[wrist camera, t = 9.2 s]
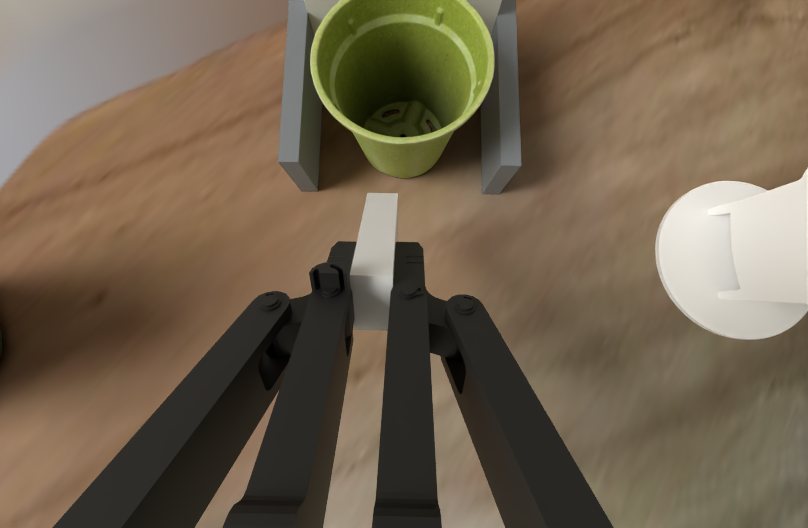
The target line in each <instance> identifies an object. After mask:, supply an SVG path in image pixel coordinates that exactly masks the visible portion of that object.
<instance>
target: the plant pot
mask: <svg viewBox="0 0 808 528" xmlns="http://www.w3.org/2000/svg"><path fill="white" fill-rule="evenodd" d="M494 65H495V56H494V47H493V42H492V39H491V35H490V33H489V31H488V28H487V27H486V25H485V23H484V21H483V19H482V18H481V16H480V15H479V13H478V12H477V11H476V10H475V9H474V8H473V7H472V6H471V5H470V4H469V3H468V2H467V1H466V0H340V1H339V2H338V3H337V4H336V5H335V6H334V7H333V8H332V9H331V10H330V11H329V12H328V13H327V15H326V16H325V18H324V19H323V21H322V23H321V24H320V26H319V27H318V29H317V31H316V33H315V37H314V40H313V43H312V48H311V56H310V67H311V75H312V78H313V82H314V86H315V88H316V91H317V93H318V95H319V97H320V99H321V101H322V102H323V104H324V106H325V107H326V108H327V110H328V111H329V112H330V113H331V115H332V116H333V117H334V118H335V119H336V120H337V121H339V122H340V123H341V124H342V125H343V126H345V127H346V128H347V129H349V130H350V131H352V133H353V134H354V136H355V138H356V139H357V141H358V143H359V145H360V147H361V148H362V150H363V152H364V154H365V156H366V157H367V159H368V161H369V162H370V163H371V164H372V165H373V166H374V167H375V168H376V169H377V170H378V171H381V172H383V173H385V174H388V175H391V176H394V177H397V178H410V177H415V176H418V175H421V174H423V173H425V172H426V171H428V170H429V169H430V168H432V167H433V166H434V164H435V163H436V162H437V161H438V159H439V158H440V156H441V154H442V152H443V150H444V149H445V147H446V145H447V143H448V141H449V139H450V138H451V136H452V134H453V132H454V131H455V130H456V129H458V128H459V127H460V126H462V125H463V124H464V123H465V122H466V121H467V120H468V119H469V118H470V117H471V116H472V115H473V114H474V113H475V112H476V111H477V109H478V108H479V107H480V105H481V103H482V102H483V100H484V98H485V97H486V94H487V92H488V90H489V88H490V85H491V82H492V78H493V74H494ZM392 109H398V110H399V112H398V113H395V114H392V115H389V116H387V117H386V118H383V117H382V115H383V114H384V113H385V112H387V111H389V110H392ZM427 120H430V121H431V123H432V125H433V126H434V127H435V129H436V131H435V132H431V129H430V127H429V125H428V124H427V122H426V121H427ZM402 134H404V135H406V137H400V135H402Z"/></svg>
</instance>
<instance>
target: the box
mask: <svg viewBox="0 0 808 528" xmlns="http://www.w3.org/2000/svg"><path fill="white" fill-rule="evenodd" d="M339 1H340V0H289V11H288V25H287V39H286V53H285V68H284V82H283V97H282V111H281V125H280V140H279V154H278V162H279V164H280V165H281V166H282V167H283V169H284V170H285V171H286V172H287V174H288V175H289V176H290V177H291V179H292V180H293V181H294V182H295V184H296V185H297V186H298V187H299V189H300V190H301V191H318V180H319V160H320V141H321V122H322V101H321V99H320V97H319V95H318V93H317V91H316V88H315V86H314V82H313V78H312V75H311V67H310V56H311V48H312V43H313V40H314V37H315V33H316V31H317V29H318V27H319V26H320V24H321V23H322V21H323V19H324V18H325V16H326V15H327V13H328V12H329V11H330V10H331V9H332V8H333V7H334V6H335V5H336V4H337V3H338V2H339ZM466 1H467V2H468V3H469V4H470V5H471V6H472V7H473V8H474V9H475V10H476V11H477V12H478V13H479V15H480V16H481V18H482V19H483V21H484V23H485V25H486V27H487V28H488V31H489V33H490V35H491V39H492V42H493V47H494V56H495V65H494V74H493V78H492V82H491V85H490V88H489V90H488V92H487V94H486V97H485V98H484V100H483V102H482V103H481V148H482V194H499V193H500V192H501V191H502V190H503V188H504V187H505V186H506V184H507V183H508V182H509V181H510V179H511V178H512V177H513V176H514V174H515V173H516V172H517V171H518V169H519V168H520V167H521V141H520V112H519V83H518V55H517V26H516V0H466Z"/></svg>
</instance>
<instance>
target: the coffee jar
mask: <svg viewBox="0 0 808 528" xmlns="http://www.w3.org/2000/svg"><path fill="white" fill-rule="evenodd" d="M1 342H2V333H1V328H0V356H1Z"/></svg>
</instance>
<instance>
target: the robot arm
mask: <svg viewBox="0 0 808 528" xmlns="http://www.w3.org/2000/svg"><path fill="white" fill-rule="evenodd" d="M397 240H398V193H367V198H366V203H365V207H364V212H363V216H362V221H361V225H360V230H359V235H358V239H357V242H343V241H338V242H337V243H336V244H335V245H334V246H333V247H332V248H331V251H330V254H329V257H328V260H327V263H322V264H319V265H317V266H315V267H314V268H312V269H311V271H310V272H309V275H310V281H311V286H312V293H311V294H309V295H306V296H303V297H299V298H294V299H289V297H288V296H287V294H285V293H283V292H278V291H272V292H267V293H264V294H262V295H260V296H258V297H257V298H256V299H254V300H253V301H252V302H251V304H250V305H249V306H248V307H247V308H246V309H245V310H244V312H243V313H242V314H241V315H240V316H239V317H238V318H237V319H236V321H235V322H234V323H233V324H232V325H231V326H230V327H229V329H228V330H227V331H226V332H225V333H224V334H223V335H222V336H221V338H220V339H219V340H218V341H217V342H216V343H215V344H214V345H213V347H212V348H211V349H210V350H209V351H208V352H207V353H206V355H205V356H204V357H203V358H202V359H201V360H200V361H199V362H198V364H197V365H196V366H195V367H194V368H193V369H192V370H191V372H190V373H189V374H188V375H187V376H186V377H185V378H184V379H183V381H182V382H181V383H180V384H179V385H178V386H177V387H176V389H175V390H174V391H173V392H172V393H171V394H170V395H169V396H168V398H167V399H166V400H165V401H164V402H163V403H162V404H161V405H160V407H159V408H158V409H157V410H156V411H155V412H154V413H153V415H152V416H151V417H150V418H149V419H148V420H147V421H146V422H145V424H144V425H143V426H142V427H141V428H140V429H139V430H138V432H137V433H136V434H135V435H134V436H133V437H132V438H131V439H130V441H129V442H128V443H127V444H126V445H125V446H124V447H123V448H122V450H121V451H120V452H119V453H118V454H117V455H116V456H115V458H114V459H113V460H112V461H111V462H110V463H109V464H108V465H107V467H106V468H105V469H104V470H103V471H102V472H101V473H100V475H99V476H98V477H97V478H96V479H95V480H94V481H93V482H92V484H91V485H90V486H89V487H88V488H87V489H86V490H85V491H84V493H83V494H82V495H81V496H80V497H79V498H78V499H77V501H76V502H75V503H74V504H73V505H72V506H71V507H70V508H69V510H68V511H67V512H66V513H65V514H64V515H63V516H62V518H61V519H60V520H59V521H58V522H57V523H56V524H55V525H54V527H53V528H195V526H196V524H197V523H198V521H199V519H200V518H201V516H202V514H203V513H204V511H205V510H206V508H207V506H208V505H209V503H210V501H211V500H212V498H213V497H214V495H215V493H216V492H217V490H218V488H219V487H220V485H221V484H222V482H223V480H224V479H225V477H226V475H227V474H228V472H229V471H230V469H231V467H232V466H233V464H234V462H235V461H236V459H237V458H238V456H239V454H240V453H241V451H242V449H243V448H244V446H245V444H246V443H247V441H248V440H249V438H250V436H251V435H252V433H253V431H254V430H255V428H256V427H257V425H258V423H259V422H260V420H261V418H262V417H263V415H264V414H265V412H266V410H267V409H268V407H269V405H270V404H271V402H272V401H273V399H274V397H275V396H276V394H277V392H278V391H279V393H278V396H277V399H276V402H275V405H274V408H273V411H272V414H271V417H270V420H269V423H268V426H267V429H266V432H265V435H264V438H263V441H262V444H261V447H260V450H259V453H258V456H257V459H256V462H255V465H254V468H253V471H252V474H251V477H250V480H249V483H248V486H247V489H246V492H245V494H244V496H243V498H242V499H241V500H240V501H239V502H238V503H236V504H235V505H234V506H233V507H232V509H231V510H230V512H229V513H228V516H227V518H226V520H225V523H224V525H223V528H323V523H324V517H325V511H326V505H327V499H328V493H329V487H330V480H331V474H332V468H333V462H334V456H335V450H336V444H337V437H338V431H339V425H340V419H341V413H342V407H343V401H344V394H345V388H346V382H347V376H348V370H349V364H350V358H351V351H352V345H353V332H352V331H353V325H354V328H355V330H388V335H387V349H386V363H385V377H384V391H383V406H382V420H381V434H380V448H379V462H378V476H377V490H376V501H375V506H374V513H373V523H372V528H442V525H441V514H440V508H439V505H438V498H437V480H436V461H435V442H434V422H433V403H432V384H431V365H430V353H433V354H437V355H440V356H441V360H442V363H443V366H444V368H445V371H446V373H447V376H448V379H449V381H450V384H451V387H452V389H453V392H454V394H455V397H456V400H457V402H458V405H459V408H460V410H461V413H462V415H463V418H464V421H465V423H466V426H467V428H468V431H469V434H470V436H471V439H472V442H473V444H474V447H475V449H476V452H477V455H478V457H479V460H480V463H481V465H482V468H483V470H484V473H485V476H486V478H487V481H488V484H489V486H490V489H491V491H492V494H493V497H494V499H495V502H496V504H497V507H498V510H499V512H500V515H501V518H502V520H503V523H504V525H505V528H613V526H612V524H611V523H610V521H609V519H608V517H607V516H606V514H605V512H604V511H603V509H602V507H601V505H600V504H599V502H598V500H597V499H596V497H595V495H594V494H593V492H592V490H591V488H590V487H589V485H588V483H587V482H586V480H585V478H584V476H583V475H582V473H581V471H580V470H579V468H578V466H577V464H576V463H575V461H574V459H573V458H572V456H571V454H570V452H569V451H568V449H567V447H566V446H565V444H564V442H563V441H562V439H561V437H560V435H559V434H558V432H557V430H556V429H555V427H554V425H553V423H552V422H551V420H550V418H549V417H548V415H547V413H546V411H545V410H544V408H543V406H542V405H541V403H540V401H539V400H538V398H537V396H536V394H535V393H534V391H533V389H532V388H531V386H530V384H529V382H528V381H527V379H526V377H525V376H524V374H523V372H522V370H521V369H520V367H519V365H518V364H517V362H516V360H515V358H514V357H513V355H512V353H511V352H510V350H509V348H508V347H507V345H506V343H505V341H504V340H503V338H502V336H501V335H500V333H499V331H498V329H497V328H496V326H495V324H494V323H493V321H492V319H491V317H490V316H489V314H488V312H487V311H486V309H485V307H484V306H483V304H482V303H481V302H480V301H479V300H478V299H476V298H475V297H473V296H469V295H456V296H453V297H451V298H450V299H449V300H448V301H445V300H441V299H438V298H435V297H434V296H432V295H431V294H430V293H428V291H427V290H426V287H425V275H424V256H423V248H422V247H421V246H420V244H419V243H418V242H397ZM279 389H280V390H279Z"/></svg>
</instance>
